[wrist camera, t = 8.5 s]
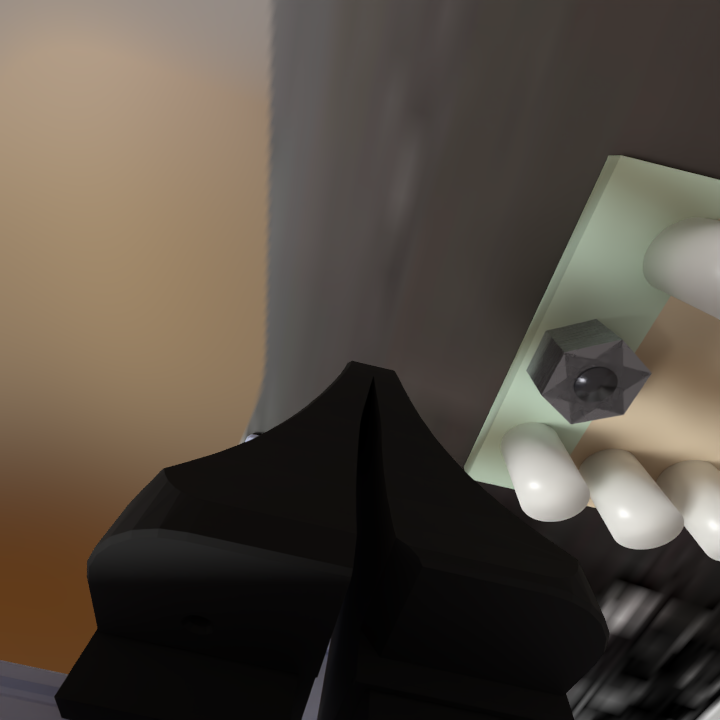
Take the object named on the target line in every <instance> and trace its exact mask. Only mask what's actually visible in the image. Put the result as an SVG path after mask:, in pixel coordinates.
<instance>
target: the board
mask: <svg viewBox="0 0 720 720" xmlns="http://www.w3.org/2000/svg"><path fill="white" fill-rule="evenodd" d="M695 217H702V218H707V219H713V220H718V221H720V180H718V179H714V178H710V177H706V176H702V175H698V174H694V173H690V172H686V171H682V170H678V169H674V168H670V167H666V166H662V165H658V164H654V163H650V162H646V161H642V160H638V159H634V158H630V157H626V156H622V155H616V156H608V158H607V161H606V163H605V165H604V167H603V169H602V171H601V174H600V176H599V178H598V180H597V182H596V184H595V186H594V189H593V191H592V193H591V195H590V197H589V199H588V201H587V204H586V206H585V208H584V210H583V212H582V214H581V217H580V219H579V221H578V223H577V225H576V227H575V229H574V232H573V234H572V236H571V238H570V240H569V242H568V244H567V247H566V249H565V251H564V253H563V255H562V257H561V260H560V262H559V264H558V266H557V268H556V270H555V272H554V275H553V277H552V279H551V281H550V283H549V285H548V287H547V290H546V292H545V294H544V296H543V298H542V300H541V303H540V305H539V307H538V309H537V311H536V313H535V315H534V318H533V320H532V322H531V324H530V326H529V328H528V330H527V333H526V335H525V337H524V339H523V341H522V343H521V346H520V348H519V350H518V352H517V354H516V356H515V358H514V361H513V363H512V365H511V367H510V369H509V371H508V373H507V376H506V378H505V380H504V382H503V384H502V386H501V389H500V391H499V393H498V395H497V397H496V399H495V401H494V404H493V406H492V408H491V410H490V412H489V414H488V416H487V419H486V421H485V423H484V425H483V427H482V429H481V432H480V434H479V436H478V438H477V440H476V442H475V444H474V447H473V449H472V451H471V453H470V455H469V457H468V459H467V462H466V464H465V466H464V469H465V472H466V473H467V474H468V475H469V476H470V477H471V478H472V479H474V480H475V481H480V482H484V483H489V484H493V485H498V486H502V487H506V488H511V489H514V486H513V483H512V480H511V478H510V475H509V472H508V469H507V466H506V464H505V461H504V458H503V455H502V453H501V448H500V445H501V441H502V438H503V437H504V435H505V434H506V433H507V432H508V431H509V430H510V429H512V428H513V427H515V426H517V425H520V424H523V423H528V422H539V423H543V424H546V425H548V426H550V427H551V428H553V429H554V430H555V432H556V433H557V435H558V437H559V438H560V440H561V442H562V443H563V445H564V447H565V449H566V450H567V452H568V454H569V455H570V457H571V459H572V460H573V462H574V464H575V466H576V467H577V469H578V471H579V468H580V466H581V464H582V463H583V462H584V460H585V459H587V458H588V457H589V456H591V455H592V454H594V453H596V452H599V451H602V450H606V449H622V450H626V451H628V452H630V453H632V454H633V455H634V456H635V457H636V459H637V460H638V461H639V462H640V464H641V465H642V466H643V467H644V469H645V470H646V471H647V472H648V474H649V475H650V476H651V477H652V479H653V480H654V481H655V482H656V481H657V479H658V477H659V476H660V474H661V473H662V472H663V471H664V470H666V469H667V468H668V467H670V466H672V465H674V464H676V463H679V462H682V461H686V460H703V461H707V462H709V463H711V464H713V465H714V466H715V467H716V468H717V469H718V470H719V471H720V320H719V319H717V318H715V317H713V316H711V315H709V314H707V313H705V312H703V311H701V310H699V309H697V308H695V307H693V306H691V305H689V304H687V303H685V302H683V301H681V300H679V299H677V298H675V297H673V296H670V295H668V294H666V293H664V292H662V291H660V290H658V289H656V288H654V287H653V286H651V285H650V284H649V283H648V281H647V280H646V278H645V276H644V273H643V260H644V256H645V253H646V251H647V249H648V247H649V246H650V244H651V243H652V241H653V240H654V239H655V238H656V237H657V236H658V235H659V234H660V233H661V232H662V231H663V230H664V229H666V228H667V227H669V226H670V225H672V224H674V223H676V222H678V221H681V220H684V219H688V218H695ZM594 319H597V320H598V321H600V322H601V323H602V324H604V325H605V326H606V327H607V328H609V329H610V330H611V331H612V332H614V333H615V334H616V335H617V336H619V337H620V338H621V339H623V341H624V342H625V343H626V344H627V345H628V346H629V347H630V349H631V350H632V351H633V352H634V353H635V354H636V355H637V357H638V358H639V359H640V360H641V361H642V362H643V364H644V365H645V366H646V367H647V368H648V369H649V370H650V372H651V373H652V374H651V375H650V377H649V378H648V380H647V381H646V383H645V384H644V386H643V387H642V389H641V390H640V392H639V393H638V395H637V396H636V397H635V399H634V400H633V402H632V403H631V405H630V406H629V408H628V409H627V411H626V412H625V414H624V415H620V416H615V417H609V418H604V419H598V420H593V421H587V422H582V423H576V424H570V423H569V422H568V421H567V420H566V419H565V418H564V417H563V416H562V415H561V414H560V413H559V412H558V411H557V410H556V409H555V408H554V407H553V406H552V405H551V404H550V403H549V402H548V401H547V400H546V399H545V398H544V397H543V396H542V395H541V394H540V392H539V391H538V389H537V387H536V386H535V384H534V382H533V381H532V379H531V378H530V376H529V374H528V373H527V371H526V369H527V367H528V365H529V363H530V361H531V359H532V357H533V355H534V353H535V351H536V349H537V347H538V345H539V343H540V341H541V339H542V337H543V335H544V333H545V331H547V330H551V329H555V328H559V327H564V326H568V325H572V324H576V323H581V322H585V321H589V320H594ZM587 506H590V507H594V508H596V506H595V505H594V503H593V501H592V499H591V498H590V499H589V502H588V504H587ZM683 527H684V526H683Z"/></svg>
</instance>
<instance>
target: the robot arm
mask: <svg viewBox="0 0 720 720" xmlns="http://www.w3.org/2000/svg"><path fill="white" fill-rule="evenodd" d="M87 579H88V584H89V588H90V593H91V598H92V603H93V608H94V613H95V617H96V623H97V628H98V629H97V631H96V632H95V634H94V635H93V637H92V638H91V640H90V642H89V643H88V645H87V646H86V648H85V649H84V651H83V652H82V654H81V655H80V658H79V659H78V660H77V662H76V664H75V665H74V666H73V668H72V670H71V671H70V673H69V674H63V673H58V672H53V671H49V670H44V669H39V668H35V667H30V666H25V665H20V664H16V663H11V662H6V661H1V660H0V720H574V718H573V714H572V711H571V708H570V705H569V702H568V699H567V695H566V693H567V692H568V691H569V690H570V689H571V688H572V687H573V686H574V685H575V684H576V683H577V682H578V681H579V680H580V679H581V678H582V677H583V676H584V675H585V674H586V673H587V672H588V671H589V670H590V669H591V668H592V667H593V666H594V665H595V664H596V663H597V661H598V660H599V659H600V657H601V656H602V655H603V653H604V652H605V650H606V648H607V643H608V638H609V630H608V627H607V624H606V621H605V618H604V616H603V613H602V611H601V609H600V607H599V605H598V602H597V600H596V598H595V596H594V593H593V591H592V589H591V587H590V585H589V583H588V580H587V578H586V576H585V574H584V572H583V570H582V568H581V566H580V564H579V562H578V560H577V559H575V558H574V557H572V556H571V555H570V554H568V553H567V552H565V551H564V550H562V549H561V548H560V547H558V546H557V545H555V544H554V543H552V542H551V541H549V540H548V539H547V538H545V537H544V536H542V535H541V534H539V533H538V532H537V531H535V530H534V529H532V528H531V527H529V526H528V525H527V524H525V523H524V522H523V521H522V520H520V519H519V518H518V517H516V516H515V515H514V514H513V513H511V512H510V511H509V510H508V509H506V508H505V507H504V506H503V505H501V504H500V503H499V502H498V501H497V500H496V499H494V498H493V497H492V496H491V495H490V494H489V493H487V492H486V491H485V490H484V489H483V488H482V487H481V486H480V485H479V484H478V483H477V482H476V481H475V480H474V479H472V478H471V477H470V476H469V475H468V474H467V473H466V472H465V471H464V470H463V469H462V468H461V467H460V466H459V465H458V464H457V463H456V461H455V460H454V459H453V458H452V457H451V456H450V455H449V453H448V452H447V451H446V450H445V449H444V448H443V447H442V445H441V444H440V443H439V442H438V441H437V439H436V438H435V437H434V435H433V434H432V433H431V431H430V430H429V429H428V427H427V426H426V424H425V423H424V422H423V420H422V419H421V417H420V416H419V414H418V412H417V411H416V409H415V407H414V406H413V404H412V402H411V401H410V399H409V397H408V395H407V393H406V392H405V390H404V388H403V386H402V384H401V382H400V380H399V378H398V376H397V374H396V373H395V371H393V370H389V369H385V368H380V367H376V366H372V365H367V364H363V363H359V362H355V361H351V362H349V363H347V365H346V367H345V369H344V370H343V371H342V373H341V374H340V375H339V376H338V377H337V379H336V380H335V381H334V382H333V383H332V384H331V385H330V386H329V387H328V388H327V389H326V390H325V391H324V392H323V393H322V394H321V395H319V396H318V397H317V398H316V399H315V400H313V401H312V402H311V403H310V404H309V405H307V406H306V407H305V408H303V409H302V410H301V411H299V412H298V413H297V414H295V415H294V416H292V417H291V418H289V419H288V420H286V421H284V422H283V423H281V424H279V425H278V426H276V427H274V428H272V429H271V430H269V431H267V432H265V433H263V434H261V435H253V434H252V435H249V436H248V437H247V439H246V441H245V442H244V443H242V444H239V445H237V446H234V447H232V448H229V449H226V450H224V451H221V452H218V453H215V454H212V455H209V456H206V457H202V458H199V459H195V460H192V461H189V462H185V463H182V464H178V465H175V466H171V467H167V468H164V469H163V470H161V471H160V472H159V474H158V475H157V476H156V477H155V478H154V479H153V480H152V481H151V482H150V483H149V484H148V485H147V486H146V487H145V488H143V490H142V491H141V492H140V493H139V494H138V495H137V496H136V497H135V498H134V499H133V500H132V501H131V502H130V504H129V505H128V506H127V507H126V509H125V510H124V511H123V512H122V513H121V515H120V516H119V518H118V519H117V520H116V521H115V522H114V524H113V525H112V526H111V528H110V529H109V530H108V531H107V533H106V534H105V535H104V536H103V538H102V539H101V540H100V542H99V543H98V544H97V545H96V547H95V548H94V550H93V552H92V554H91V556H90V557H89V559H88V561H87Z"/></svg>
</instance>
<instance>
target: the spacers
mask: <svg viewBox="0 0 720 720" xmlns="http://www.w3.org/2000/svg"><path fill="white" fill-rule="evenodd" d="M643 273H644V276H645V278H646V280H647V281H648V283H649V284H650V285H651V286H653V287H654V288H656V289H658V290H660V291H662V292H664V293H666V294H668V295H670V296H673V297H675V298H677V299H679V300H681V301H683V302H685V303H687V304H689V305H691V306H693V307H695V308H697V309H699V310H701V311H703V312H705V313H707V314H709V315H711V316H713V317H715V318H717V319H719V320H720V221H718V220H713V219H707V218H702V217H695V218H688V219H684V220H681V221H678V222H676V223H674V224H672V225H670V226H669V227H667V228H666V229H664V230H663V231H662V232H661V233H660V234H659V235H658V236H657V237H656V238H655V239H654V240H653V241H652V243H651V244H650V246H649V247H648V249H647V251H646V253H645V256H644V260H643ZM500 448H501V453H502V455H503V458H504V461H505V464H506V466H507V469H508V472H509V475H510V478H511V480H512V483H513V486H514V489H515V492H516V494H517V497H518V500H519V503H520V505H521V508H522V510H523V511H524V512H525V513H526V514H527V515H528V516H530V517H531V518H533V519H536V520H539V521H545V522H556V521H562V520H566V519H569V518H571V517H573V516H575V515H577V514H578V513H580V512H581V511H582V510H583V509H584V508H585V507H586V506H587V504H588V502H589V499H590V498H591V499H592V501H593V503H594V505H595V506H596V508H597V510H598V512H599V513H600V515H601V517H602V519H603V520H604V522H605V524H606V526H607V527H608V529H609V531H610V533H611V534H612V536H613V538H614V539H615V541H616V542H617V543H619V544H620V545H622V546H624V547H627V548H631V549H651V548H655V547H659V546H662V545H664V544H666V543H668V542H670V541H672V540H673V539H674V538H676V537H677V536H678V535H679V534H680V532H681V531H682V529H683V526H685V527H686V529H687V530H688V531H689V533H690V534H691V535H692V536H693V538H694V539H695V540H696V541H697V543H698V544H699V545H700V547H701V548H702V549H703V550H704V552H705V553H706V554H707V555H708V556H709V557H710V558H712V559H714V560H717V561H720V471H719V470H718V469H717V468H716V467H715V466H714V465H713V464H711V463H709V462H707V461H703V460H686V461H682V462H679V463H676V464H674V465H672V466H670V467H668V468H667V469H666V470H664V471H663V472H662V473H661V474H660V476H659V477H658V479H657V481H656V482H655V481H654V480H653V479H652V477H651V476H650V475H649V474H648V472H647V471H646V470H645V469H644V467H643V466H642V465H641V464H640V462H639V461H638V460H637V459H636V457H635V456H634V455H633V454H632V453H630V452H628V451H626V450H622V449H606V450H602V451H599V452H596V453H594V454H592V455H591V456H589V457H588V458H587V459H585V460H584V462H583V463H582V464H581V466H580V468H579V471H578V469H577V467H576V466H575V464H574V462H573V460H572V459H571V457H570V455H569V454H568V452H567V450H566V449H565V447H564V445H563V443H562V442H561V440H560V438H559V437H558V435H557V433H556V432H555V430H554V429H553V428H551V427H550V426H548V425H546V424H543V423H539V422H528V423H523V424H520V425H517V426H515V427H513V428H512V429H510V430H509V431H508V432H507V433H506V434H505V435H504V437H503V438H502V441H501V445H500Z"/></svg>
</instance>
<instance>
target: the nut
mask: <svg viewBox="0 0 720 720" xmlns="http://www.w3.org/2000/svg"><path fill="white" fill-rule="evenodd" d="M526 371H527V373H528V374H529V376H530V378H531V379H532V381H533V382H534V384H535V386H536V387H537V389H538V391H539V392H540V394H541V395H542V396H543V397H544V398H545V399H546V400H547V401H548V402H549V403H550V404H551V405H552V406H553V407H554V408H555V409H556V410H557V411H558V412H559V413H560V414H561V415H562V416H563V417H564V418H565V419H566V420H567V421H568V422H569V423H570V424H576V423H582V422H587V421H593V420H598V419H604V418H609V417H615V416H620V415H624V414H625V412H626V411H627V409H628V408H629V406H630V405H631V403H632V402H633V400H634V399H635V397H636V396H637V395H638V393H639V392H640V390H641V389H642V387H643V386H644V384H645V383H646V381H647V380H648V378H649V377H650V375H651V374H652V373H651V372H650V370H649V369H648V368H647V367H646V366H645V365H644V364H643V362H642V361H641V360H640V359H639V358H638V357H637V355H636V354H635V353H634V352H633V351H632V350H631V349H630V347H629V346H628V345H627V344H626V343H625V342H624V341H623V339H621V338H620V337H619V336H617V335H616V334H615V333H614V332H612V331H611V330H610V329H609V328H607V327H606V326H605V325H604V324H602V323H601V322H600V321H598V320H597V319H594V320H589V321H585V322H581V323H576V324H572V325H568V326H564V327H559V328H555V329H551V330H547V331H545V333H544V335H543V337H542V339H541V341H540V343H539V345H538V347H537V349H536V351H535V353H534V355H533V357H532V359H531V361H530V363H529V365H528V367H527V369H526Z"/></svg>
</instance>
